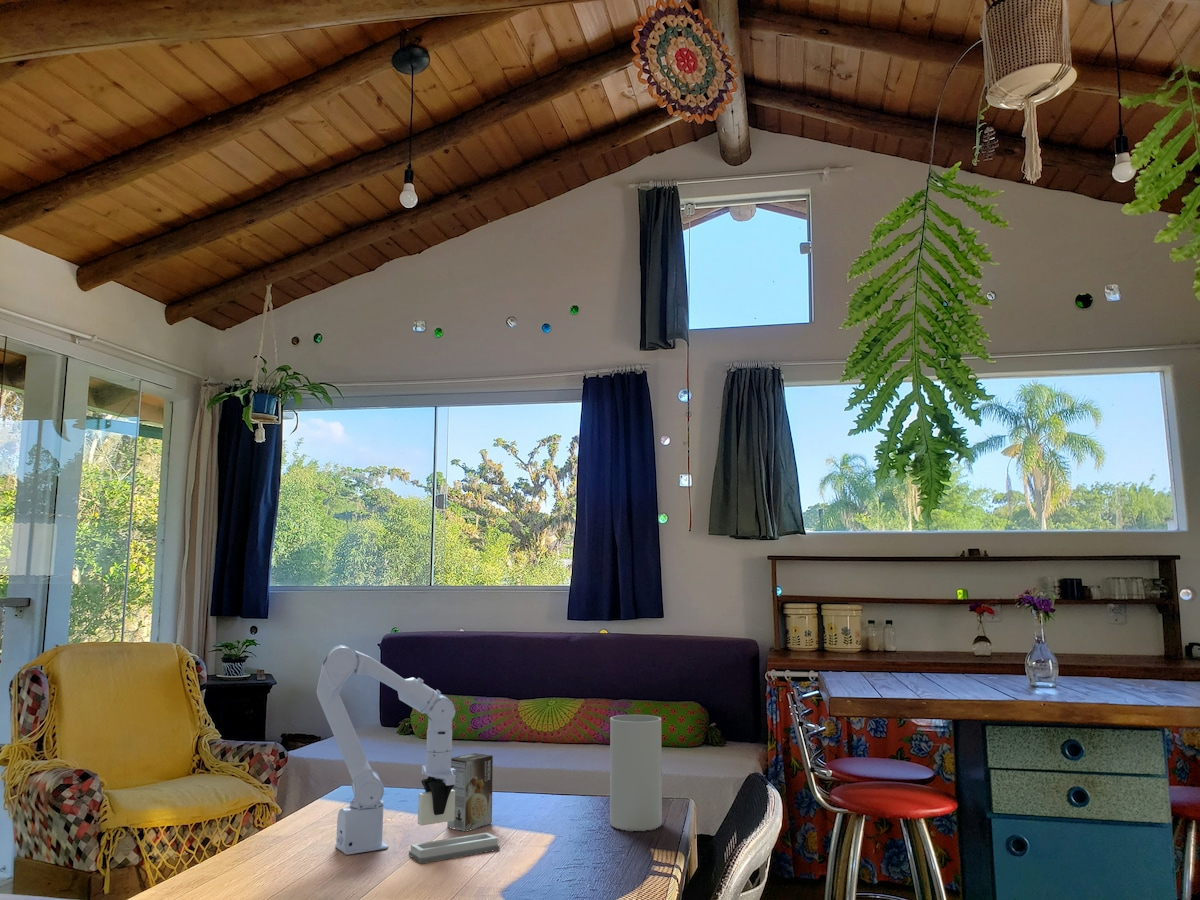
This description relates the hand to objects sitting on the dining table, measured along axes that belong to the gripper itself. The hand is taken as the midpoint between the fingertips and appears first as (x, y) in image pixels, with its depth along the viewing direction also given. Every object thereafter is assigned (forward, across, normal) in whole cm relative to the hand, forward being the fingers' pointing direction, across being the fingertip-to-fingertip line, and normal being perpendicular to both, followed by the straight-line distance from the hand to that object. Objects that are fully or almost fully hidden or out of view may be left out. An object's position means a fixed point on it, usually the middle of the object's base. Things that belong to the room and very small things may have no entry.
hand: (436, 813), depth 201 cm
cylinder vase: (+6, -13, -46) cm, 48 cm away
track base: (+6, -10, 0) cm, 12 cm away
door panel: (+2, 0, 0) cm, 2 cm away
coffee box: (+6, +8, -12) cm, 16 cm away
